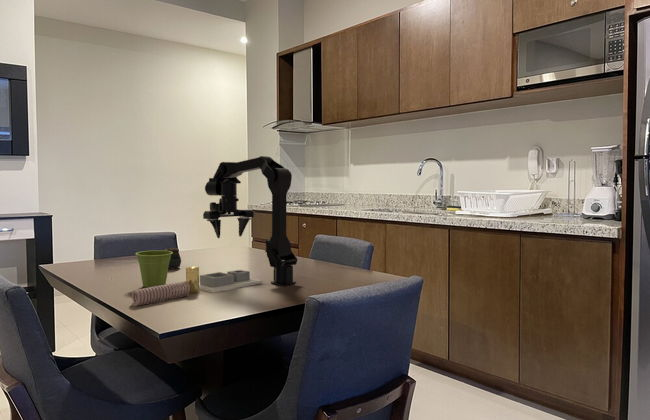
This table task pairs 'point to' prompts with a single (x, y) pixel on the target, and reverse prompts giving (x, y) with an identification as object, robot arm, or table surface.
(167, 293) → the coil
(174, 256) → the mate gourd
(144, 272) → the plant pot
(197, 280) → the cylinder
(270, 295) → the table surface
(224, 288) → the fitting board
